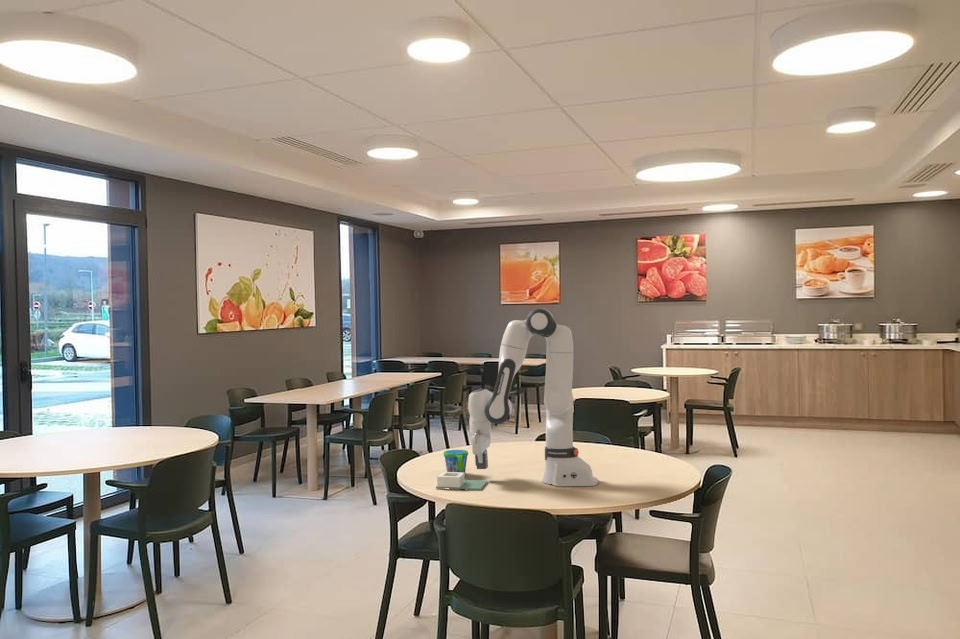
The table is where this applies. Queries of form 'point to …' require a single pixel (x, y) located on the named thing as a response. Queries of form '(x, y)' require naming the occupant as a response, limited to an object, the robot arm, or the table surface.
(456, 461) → the snack cup
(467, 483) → the header board
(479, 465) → the plug
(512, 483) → the table surface
